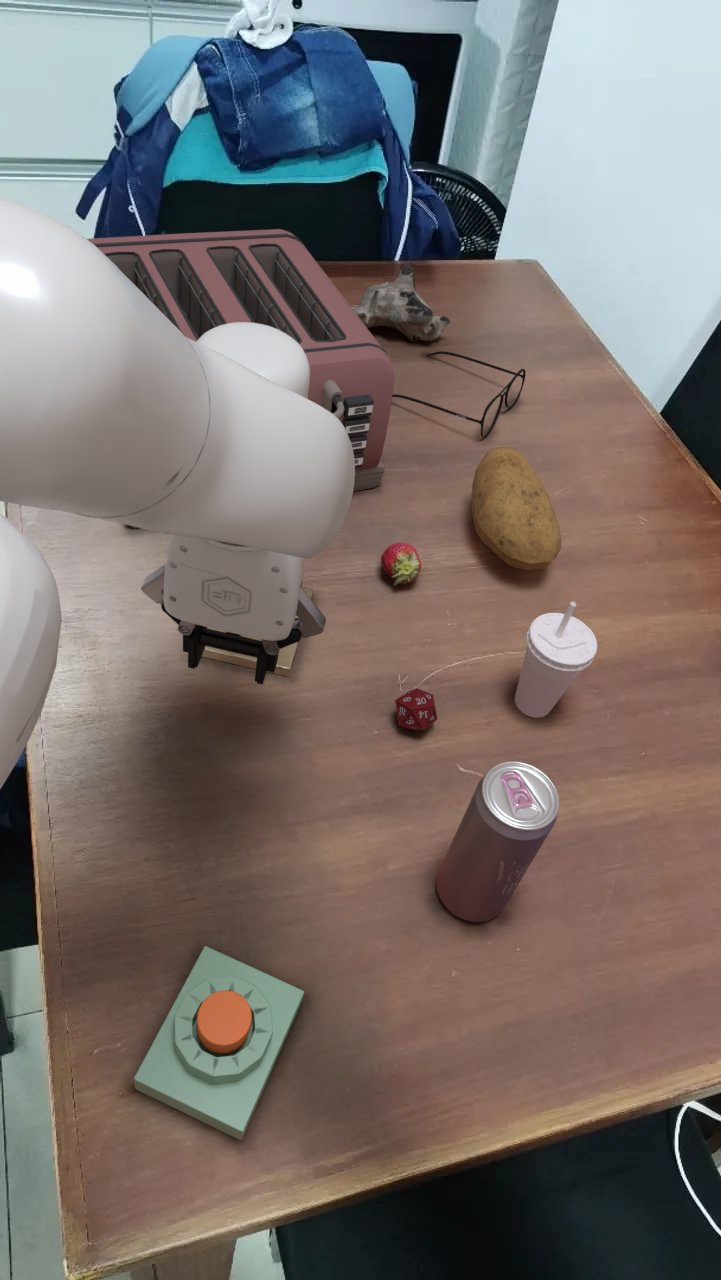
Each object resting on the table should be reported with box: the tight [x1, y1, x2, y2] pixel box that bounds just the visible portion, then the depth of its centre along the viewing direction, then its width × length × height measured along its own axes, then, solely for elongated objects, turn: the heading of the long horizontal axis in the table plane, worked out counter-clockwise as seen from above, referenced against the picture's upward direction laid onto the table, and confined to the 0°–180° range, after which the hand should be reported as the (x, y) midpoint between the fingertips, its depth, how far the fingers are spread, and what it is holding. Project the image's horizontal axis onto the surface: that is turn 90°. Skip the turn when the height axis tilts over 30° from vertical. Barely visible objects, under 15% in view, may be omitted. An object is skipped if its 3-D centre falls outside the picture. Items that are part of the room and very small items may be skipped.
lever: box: [199, 628, 262, 658], centre depth 78 cm, size 14×5×2 cm, turn 170°
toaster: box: [86, 228, 395, 529], centre depth 104 cm, size 30×36×17 cm
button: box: [197, 990, 252, 1054], centre depth 61 cm, size 4×4×2 cm
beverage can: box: [435, 760, 560, 923], centre depth 70 cm, size 6×6×15 cm
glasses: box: [392, 350, 527, 438], centre depth 122 cm, size 14×15×5 cm
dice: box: [394, 687, 438, 732], centre depth 84 cm, size 4×4×4 cm
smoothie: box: [514, 601, 598, 719], centre depth 84 cm, size 6×6×14 cm
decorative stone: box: [350, 264, 451, 343], centre depth 129 cm, size 16×9×10 cm, turn 95°
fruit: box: [380, 542, 422, 586], centre depth 97 cm, size 4×6×5 cm
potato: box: [471, 446, 562, 571], centre depth 101 cm, size 9×16×9 cm, turn 10°
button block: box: [133, 945, 305, 1141], centre depth 63 cm, size 10×8×4 cm
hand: (230, 662), depth 78 cm, fingers closed on lever, 5 cm apart
